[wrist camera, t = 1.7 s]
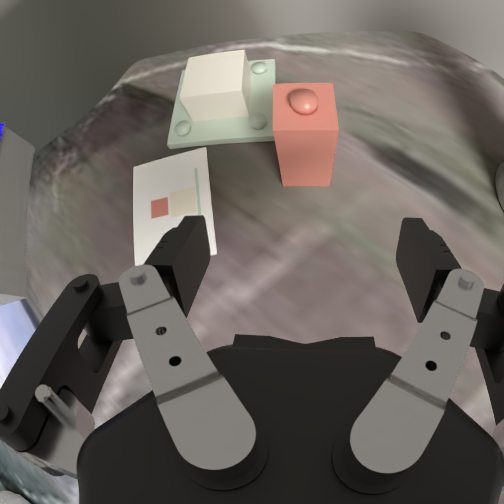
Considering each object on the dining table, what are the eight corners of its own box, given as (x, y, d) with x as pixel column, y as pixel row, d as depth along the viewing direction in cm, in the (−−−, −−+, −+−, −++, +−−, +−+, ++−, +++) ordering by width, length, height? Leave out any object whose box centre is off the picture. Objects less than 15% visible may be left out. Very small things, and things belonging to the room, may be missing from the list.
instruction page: (206, 147, 32) (205, 146, 32) (217, 254, 30) (216, 253, 30) (134, 167, 34) (133, 166, 33) (136, 268, 31) (134, 268, 31)
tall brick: (326, 146, 30) (332, 76, 20) (329, 186, 29) (339, 123, 19) (282, 146, 31) (271, 77, 21) (283, 186, 30) (271, 124, 20)
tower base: (275, 64, 34) (270, 33, 28) (276, 140, 31) (270, 110, 26) (184, 74, 36) (170, 47, 30) (170, 149, 33) (149, 123, 28)
